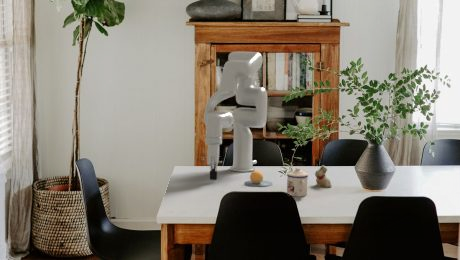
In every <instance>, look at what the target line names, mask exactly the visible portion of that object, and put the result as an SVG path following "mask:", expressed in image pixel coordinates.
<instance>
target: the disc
mask: <svg viewBox="0 0 460 260" xmlns="http://www.w3.org/2000/svg"><path fill="white" fill-rule="evenodd" d="M273 184H274V183H273V182H272V181H268V180H264V179H263V180H262V182H261V183H259V184H255V183H253V182H252V181H251V180H247V181H245V182H244V185H245V186H249V187H256V188H257V187H258V188H265V187H271V186H273Z"/></svg>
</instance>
